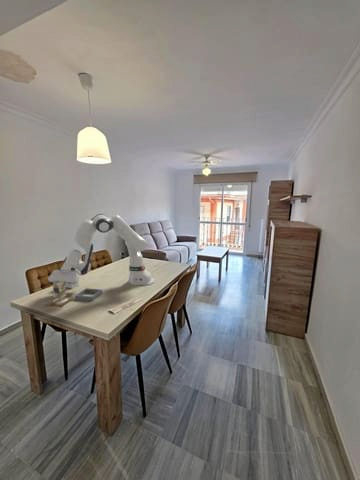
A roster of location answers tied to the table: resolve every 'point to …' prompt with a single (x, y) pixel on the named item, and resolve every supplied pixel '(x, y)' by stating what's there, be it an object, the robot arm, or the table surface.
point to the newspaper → (125, 305)
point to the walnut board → (60, 301)
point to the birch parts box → (59, 290)
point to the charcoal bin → (88, 298)
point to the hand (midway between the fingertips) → (58, 288)
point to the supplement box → (72, 285)
